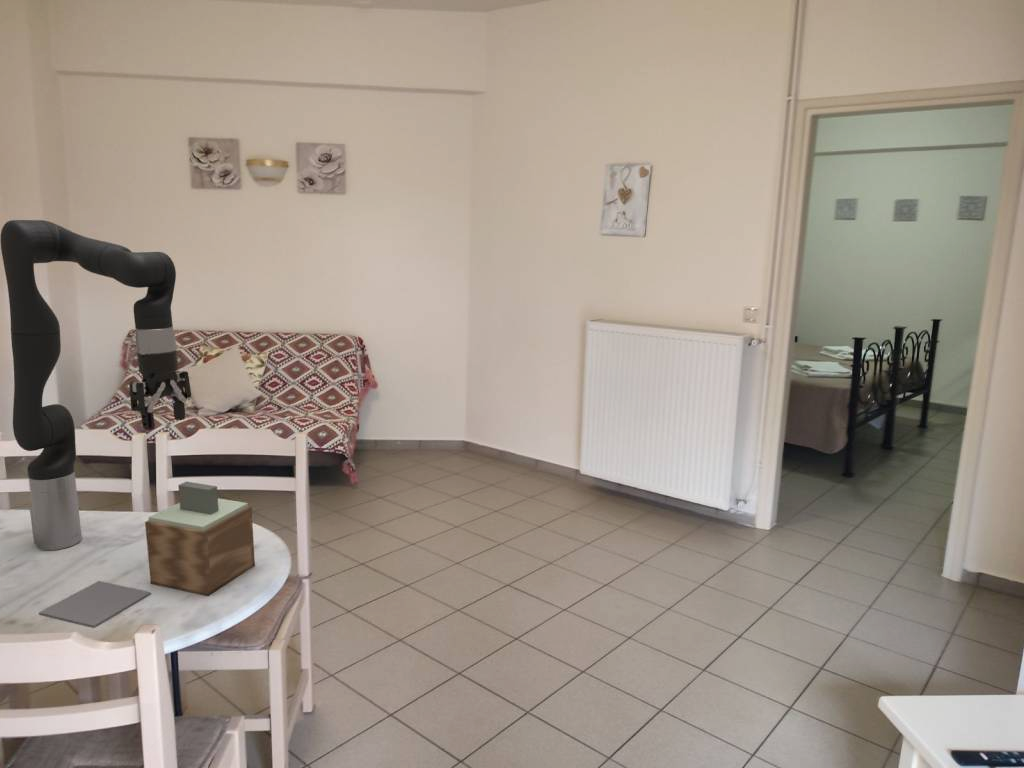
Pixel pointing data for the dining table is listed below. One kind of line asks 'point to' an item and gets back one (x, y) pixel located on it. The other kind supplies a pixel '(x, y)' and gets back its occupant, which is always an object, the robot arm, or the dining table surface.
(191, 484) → the lid
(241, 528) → the box
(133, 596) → the mat
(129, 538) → the dining table surface
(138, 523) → the dining table surface
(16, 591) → the dining table surface
